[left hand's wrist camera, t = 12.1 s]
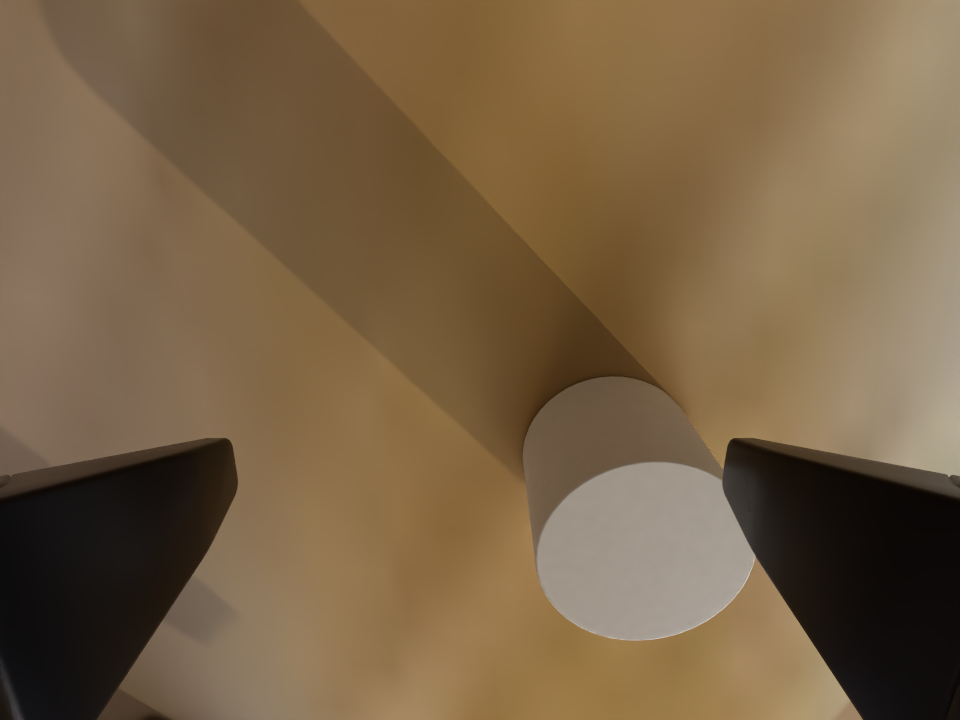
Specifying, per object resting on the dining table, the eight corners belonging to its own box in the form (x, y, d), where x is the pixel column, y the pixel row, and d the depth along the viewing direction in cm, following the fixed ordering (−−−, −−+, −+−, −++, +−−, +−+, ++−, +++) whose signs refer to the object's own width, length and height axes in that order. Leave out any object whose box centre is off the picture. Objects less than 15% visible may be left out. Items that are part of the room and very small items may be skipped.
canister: (511, 389, 18) (521, 478, 13) (688, 363, 17) (757, 444, 13) (534, 533, 19) (549, 652, 15) (695, 512, 19) (758, 627, 15)
